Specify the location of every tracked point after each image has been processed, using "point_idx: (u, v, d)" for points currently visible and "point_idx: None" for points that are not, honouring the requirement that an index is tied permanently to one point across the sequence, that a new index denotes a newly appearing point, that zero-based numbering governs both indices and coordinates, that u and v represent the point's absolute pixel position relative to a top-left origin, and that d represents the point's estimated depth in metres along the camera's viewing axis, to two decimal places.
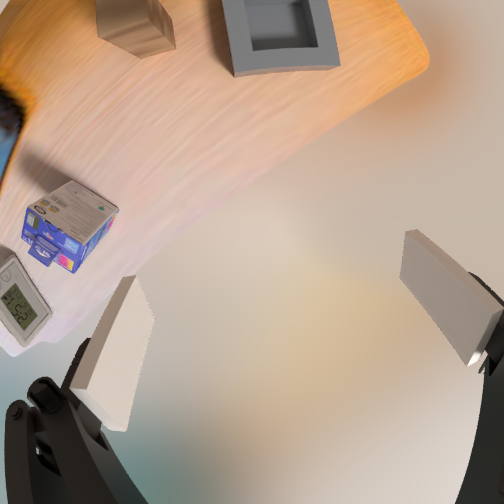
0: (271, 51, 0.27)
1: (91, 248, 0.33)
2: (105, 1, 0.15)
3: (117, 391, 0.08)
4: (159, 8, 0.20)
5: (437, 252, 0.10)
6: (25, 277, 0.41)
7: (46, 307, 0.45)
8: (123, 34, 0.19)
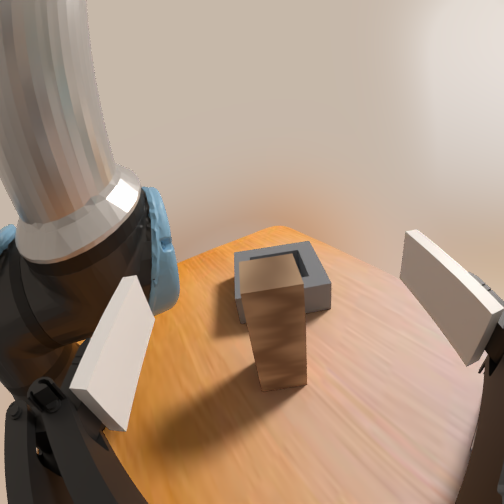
0: (307, 267, 0.41)
1: None
2: (252, 284, 0.23)
3: (117, 391, 0.08)
4: None
5: (437, 252, 0.10)
6: None
7: None
8: None
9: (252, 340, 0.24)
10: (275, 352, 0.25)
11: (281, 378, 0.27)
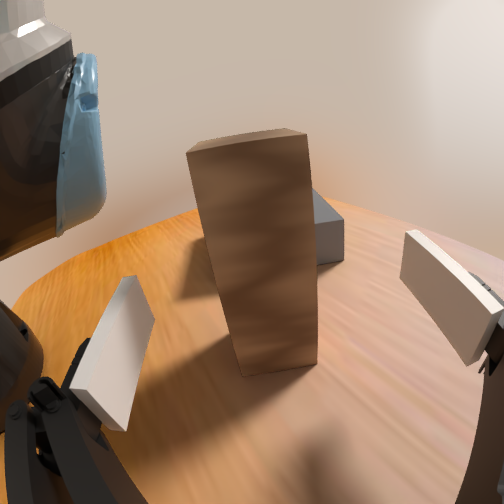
0: None
1: None
2: (212, 144, 0.12)
3: (117, 391, 0.08)
4: None
5: (437, 252, 0.10)
6: None
7: None
8: None
9: (215, 264, 0.13)
10: (259, 293, 0.14)
11: (273, 350, 0.16)
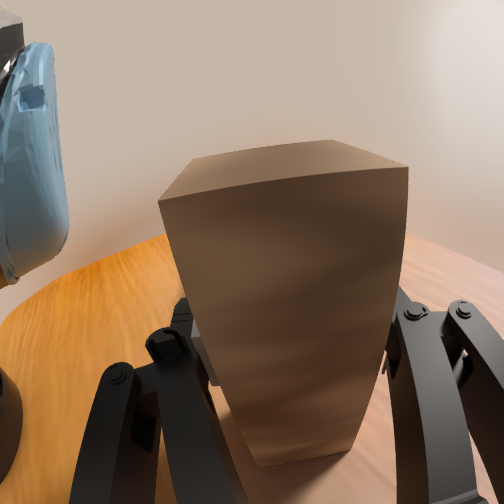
0: None
1: None
2: (214, 176, 0.06)
3: None
4: None
5: None
6: None
7: None
8: None
9: (224, 380, 0.07)
10: (291, 406, 0.08)
11: (300, 448, 0.10)
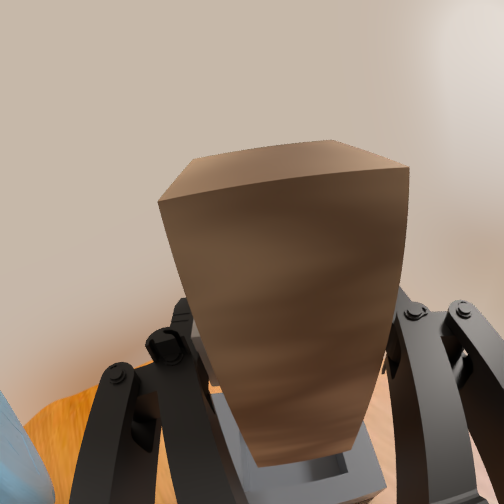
0: None
1: None
2: (214, 177, 0.06)
3: None
4: None
5: None
6: None
7: None
8: None
9: (225, 380, 0.07)
10: (291, 407, 0.08)
11: (300, 448, 0.10)
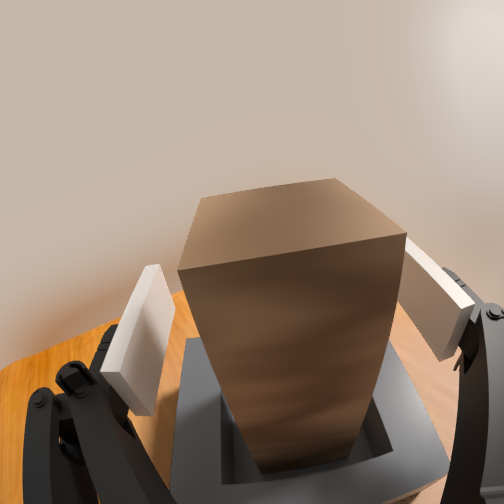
0: (386, 415, 0.11)
1: None
2: (227, 239, 0.07)
3: (145, 375, 0.09)
4: None
5: (410, 248, 0.11)
6: None
7: None
8: None
9: (235, 406, 0.08)
10: (293, 425, 0.09)
11: (301, 458, 0.11)
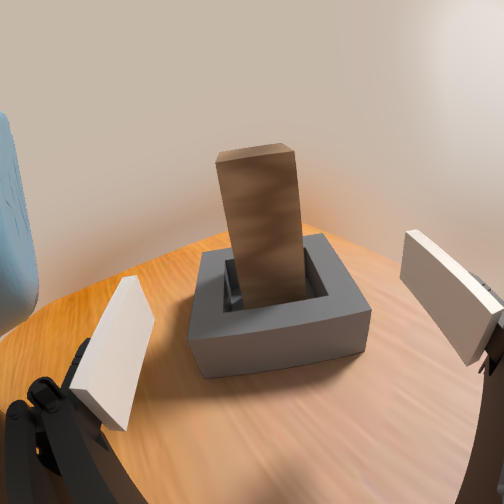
0: (325, 279, 0.22)
1: None
2: (231, 157, 0.18)
3: (117, 391, 0.08)
4: None
5: (437, 252, 0.10)
6: None
7: None
8: None
9: (232, 237, 0.19)
10: (263, 260, 0.20)
11: None
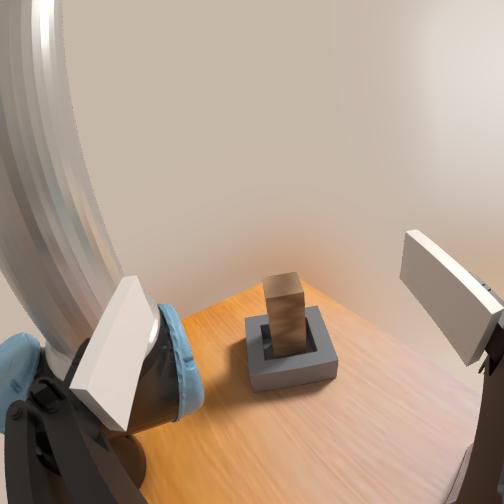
0: (316, 340, 0.41)
1: None
2: (272, 292, 0.37)
3: (117, 391, 0.08)
4: None
5: (437, 252, 0.10)
6: None
7: None
8: None
9: (271, 327, 0.38)
10: (285, 336, 0.39)
11: (289, 355, 0.41)
